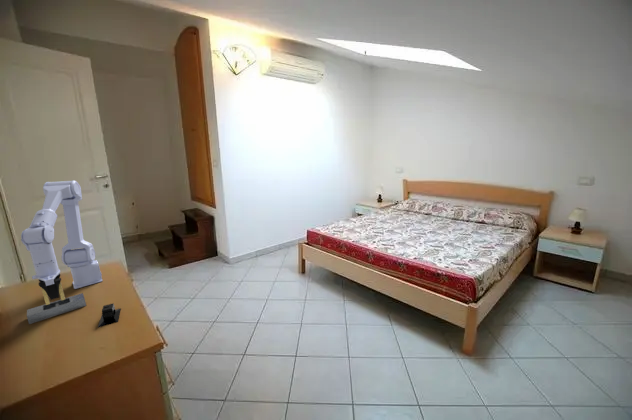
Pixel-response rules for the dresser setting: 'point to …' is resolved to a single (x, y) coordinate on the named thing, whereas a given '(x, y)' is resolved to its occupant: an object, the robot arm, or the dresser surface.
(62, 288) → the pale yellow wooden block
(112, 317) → the black mounted block
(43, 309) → the rail
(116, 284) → the dresser surface
